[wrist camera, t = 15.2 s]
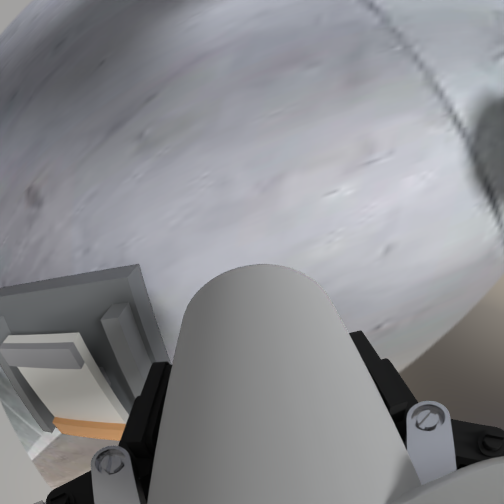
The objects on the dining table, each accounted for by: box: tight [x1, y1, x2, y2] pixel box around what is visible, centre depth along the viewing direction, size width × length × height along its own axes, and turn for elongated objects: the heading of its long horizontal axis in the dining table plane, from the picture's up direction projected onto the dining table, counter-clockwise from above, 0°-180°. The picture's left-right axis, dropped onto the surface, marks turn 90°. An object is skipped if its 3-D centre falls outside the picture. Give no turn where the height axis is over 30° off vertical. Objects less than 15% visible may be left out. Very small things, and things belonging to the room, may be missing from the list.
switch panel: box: [0, 264, 171, 433], centre depth 24 cm, size 18×18×6 cm
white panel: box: [0, 332, 129, 441], centre depth 21 cm, size 12×9×2 cm
